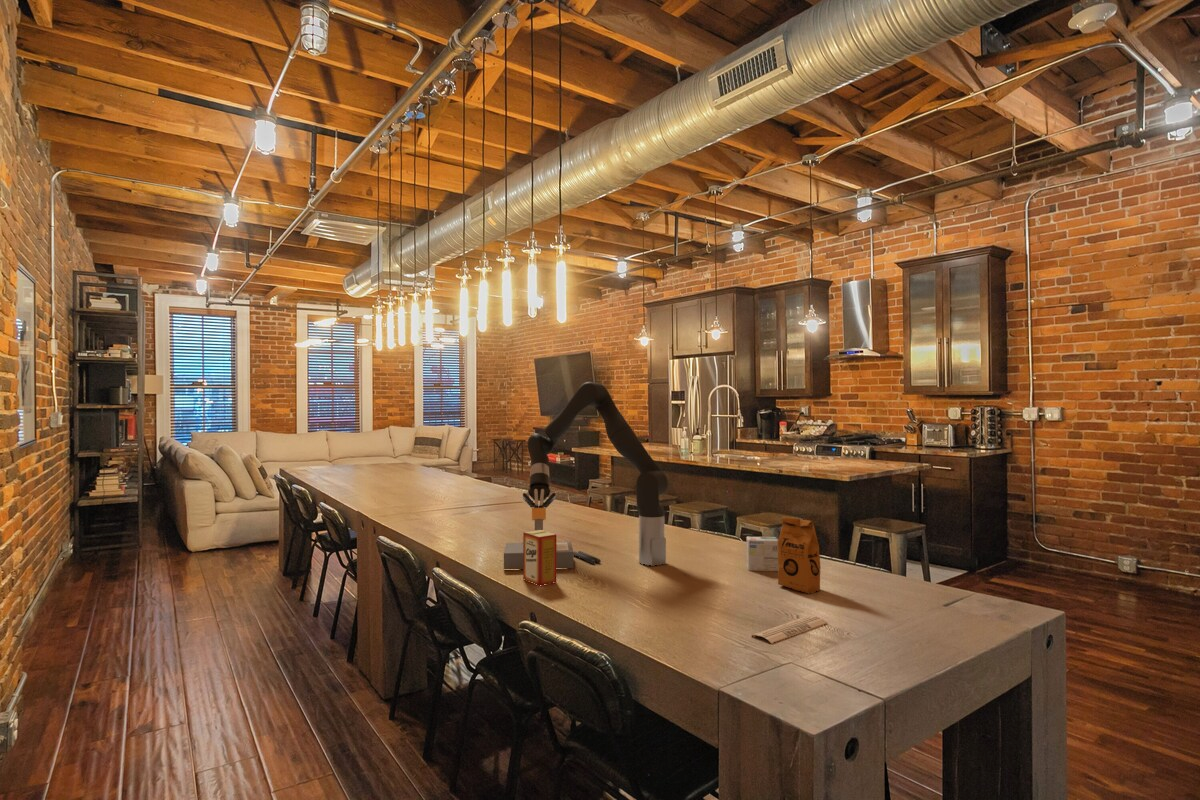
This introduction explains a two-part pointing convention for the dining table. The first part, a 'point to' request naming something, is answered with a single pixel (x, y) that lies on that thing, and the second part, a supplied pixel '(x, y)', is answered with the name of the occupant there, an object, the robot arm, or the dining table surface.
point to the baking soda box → (539, 557)
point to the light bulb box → (762, 553)
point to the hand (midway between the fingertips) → (538, 515)
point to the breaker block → (515, 555)
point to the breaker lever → (538, 517)
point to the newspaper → (791, 628)
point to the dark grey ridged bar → (587, 557)
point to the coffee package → (798, 556)
